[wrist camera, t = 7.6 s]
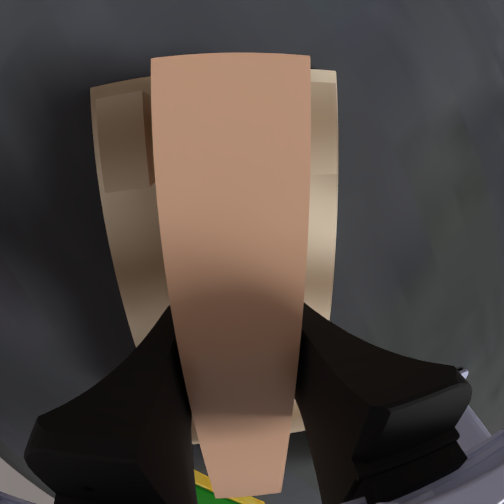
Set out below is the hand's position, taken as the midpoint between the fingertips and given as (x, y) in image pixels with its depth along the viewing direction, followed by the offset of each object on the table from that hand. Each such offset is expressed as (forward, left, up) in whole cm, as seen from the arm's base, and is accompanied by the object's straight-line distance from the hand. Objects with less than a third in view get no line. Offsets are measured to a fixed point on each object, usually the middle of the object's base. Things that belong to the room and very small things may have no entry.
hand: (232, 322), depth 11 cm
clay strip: (0, 0, -2) cm, 2 cm away
